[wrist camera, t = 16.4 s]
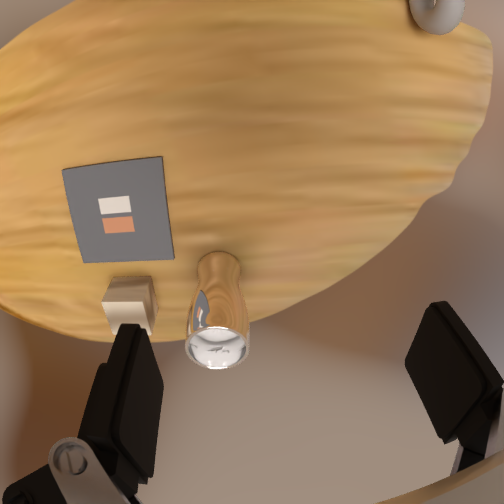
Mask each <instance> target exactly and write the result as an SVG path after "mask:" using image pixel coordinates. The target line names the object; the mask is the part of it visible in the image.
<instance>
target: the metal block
mask: <svg viewBox="0 0 504 504" xmlns="http://www.w3.org/2000/svg"><path fill="white" fill-rule="evenodd" d="M102 305H103V308H104V311H105V314H106V316H107V319H108V322H109V325H110V327H111V330H112V333H113V334H117V332H118V329H119V326H120V324H122V323H132V324H139V325H140V326H141V328H145V329H146V331H147V334H148V335H152V332H153V328H154V324H155V320H156V316H157V312H158V305H157V301H156V296H155V292H154V288H153V283H152V278H151V276H139V277H113V279H112V281H111V283H110V285H109V287H108V289H107V291H106V293H105V295H104V297H103V299H102Z"/></svg>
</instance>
